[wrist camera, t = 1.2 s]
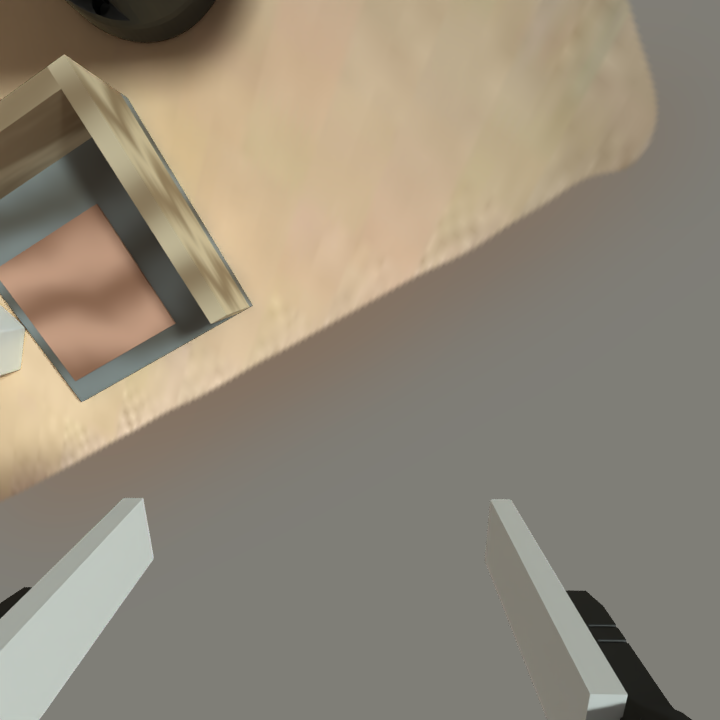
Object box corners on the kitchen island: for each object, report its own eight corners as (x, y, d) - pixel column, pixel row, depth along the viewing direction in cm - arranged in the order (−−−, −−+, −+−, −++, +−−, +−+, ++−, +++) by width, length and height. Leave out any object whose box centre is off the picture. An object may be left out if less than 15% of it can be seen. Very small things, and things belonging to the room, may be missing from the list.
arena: (-47, 217, 35) (-146, 205, 28) (127, 97, 33) (64, 54, 26) (88, 398, 39) (30, 426, 33) (252, 305, 37) (226, 314, 30)
